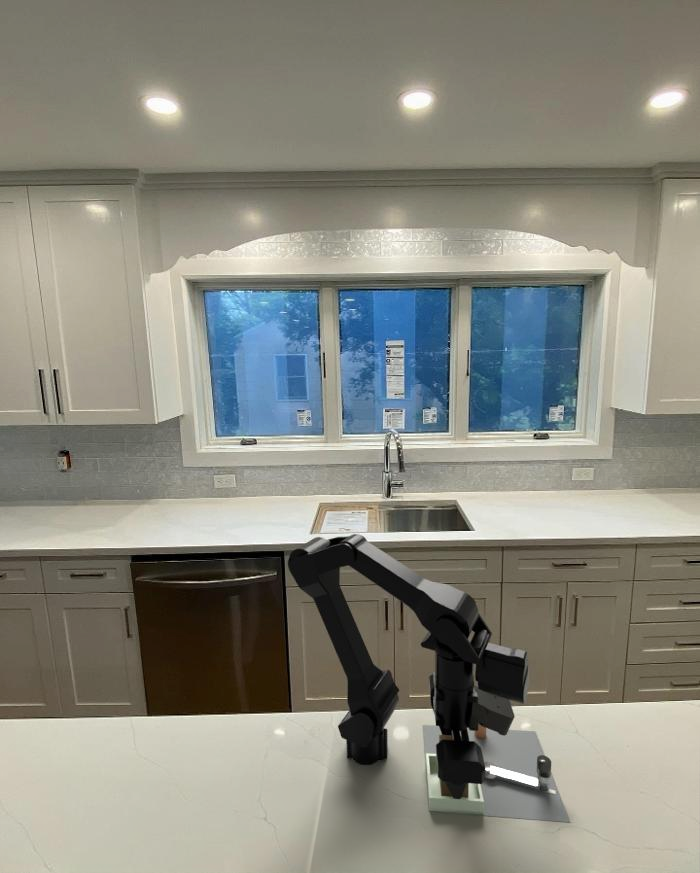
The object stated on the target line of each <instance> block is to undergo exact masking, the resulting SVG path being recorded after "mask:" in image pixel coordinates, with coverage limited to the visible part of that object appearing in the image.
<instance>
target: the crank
mask: <svg viewBox="0 0 700 873" xmlns="http://www.w3.org/2000/svg"><path fill="white" fill-rule="evenodd" d="M484 763H485V768H486V773H485V779H487V780H495V779H497V778H498V779H501V780H505V781H508V782H512V783H515V784H519V785H522V786H526V787H529V788H533V789H536V790H540V791H549V789H550V776H551V773H552V760H551V759H550V758H549V757H548V756H547V755H545V756H544V755H540V756H538V757H537V778H533V777H529V776H526V775H522V774H519V773H515V772H511V771H508V770H504V769H501V768H497V767H496V766H495V765H494V764H493V763H491V762H484Z"/></svg>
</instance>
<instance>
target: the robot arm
mask: <svg viewBox="0 0 700 873" xmlns="http://www.w3.org/2000/svg"><path fill="white" fill-rule="evenodd" d="M346 566H349V567H350V568H351V569H353V570H355V572H357V573H359V574H360V575H361V576H363V577H364V578H365V579H368V580H369V581H370V582H372V583H373V584H375V585H376V586H377V587H379V588H380V589H382V590H383V591H385V592H386V593H388V594H389V595H391V596H392V597H393V598H395V599H397V600H398V601H399V602H401V603H402V604H404V605H405V606H406V607H408V608H409V609H410V610H411V611H413V613H414V614H415V616H416V617H417V620H418V621H419V623H420V624H421V626H422V627H423V628H424V629H425V630H426V631H427V633H426V634H425V635H424V637H423V639H422V641H421V642H420V646H421V647H422V648H424V649H427V650H430V651H433V652H434V671H433V673H432V674H431V675H429V676H428V692H429V698H430V706H431V709H432V712H433V714H434V722H435V726H439V728H440V731H441V733H442V735H452V738H453V740H444V739H442V740H441V741H440V742H439V743H438V744H436V762H437V772H438V778H439V779H441V780H442V781H444V782H445V784H446V785H447V787H448V789H449V791H450V793H451V795H452V797H453V798H454V799H461V797H462V795H463V793H464V790H465V788H466V785H467V783H473V784H482V783H483V782H484V781H485V773H486V768H485V763H484V759H483V754H482V750H481V747H480V746H479V745H478V744H477V743H476V742H475V741H469V736H468V731H467V728H469V730H471V731H478V724H480V725H481V726H483V727H485V728H487V729H490V730H493V731H496V732H498V733H499V734H500V735H503V736H505V735H507V732H508V730H510V728H511V726H512V723H513V721H514V719H515V717H516V716H515V713H514V709H513V707H512V703H511V702H510V701H513V702H516V703H519V704H522V705H526V702H527V698H528V692H529V684H530V674H531V673H530V672H531V669H530V668H531V666H530V665H529V659H528V652H527V651H526V650H523V649H519V648H511V647H507V646H503V645H499V644H495V643H491V638H492V636H493V632H492V631H491V629H490V627H489V626H488V625H487V623H486V622H485V621H484V618H483V617H482V615H481V614H480V613H479V608H478V606H477V603H476V602H477V601H476V600H475V599H474V598H473V597H472V596H471V595H470V594H468V593H467V592H466V591H465V592H464V591H463V590H460V589H458V588H456V587H453V586H452V585H449V584H447V583H441V582H437V581H436V582H435V581H431V580H430V579H427V578H425V577H423V576H421V575H420V574H419V573H417V572H415V571H414V570H412V569H410V567H408V566H406V565H405V564H403V563H401V562H400V561H399V560H397V559H395V558H394V557H392V556H390V555H389V554H387V553H386V552H385V551H384V550H382V549H380V548H378V547H377V546H375V545H373V544H372V543H371V542H369V541H368V539H367V538H366V537H365V536H363V535H362V534H360V533H358V534H357V533H353V534H351V535H348V536H335V537H332V538H328V539H326V538H324V537H321V536H317V537H313V538H311V540H309V541H307V542H305V543H304V544H302V545H300V546H299V547H296V549H294V550H292V551H291V552H290V554H289V557H288V560H287V567H288V571H289V572H290V575H291V576H292V577H293V579H294V581H295V582H296V585H297V586H298V588H299V589H300V590H302V591H303V592H304V593H305V594H307V595H308V596H309V597H311V598H312V599H313V602H314V603H315V605H316V606H315V607H316V609H317V611H318V613H319V615H320V617H321V620H322V622H323V625H324V627H325V630H326V632H327V634H328V636H329V639H330V641H331V643H332V645H333V649H334V651H335V653H336V655H337V657H338V658H337V659H338V660H339V662H340V665H341V668H342V670H343V672H344V674H345V677H346V680H347V684H346V687H347V690H346V694H347V695H346V697H347V698H346V701H347V705H348V709H349V710H348V712H346V715H344V717H343V718H342V719H341V721H340V723H339V724H338V725H337V728H338V731H339V734H340V738H342V739H343V740H346V743H345V744H346V758H347V759H351V760H352V761H353V762H355V763H356V764H357V765H361V766H371V765H374V764H376V763H378V762H379V761H384V760H387V759H388V752H389V751H388V748H389V747H388V746H389V743H388V742H389V741H388V729H387V728H385V727H386V725H387V723H388V722H389V721H390V719H391V717H392V715H393V713H394V712H395V711H396V709H397V707H398V704H399V702H400V698H399V692H400V688H399V687H398V686H397V685H396V682H395V681H394V678H393V674H392V672H391V670H390V669H385V670H382V669H381V668H379V667H378V666H377V665H376V664H374V662H373V660H372V658H371V656H370V653H369V651H368V649H367V646H366V643H365V641H364V639H363V637H362V633H361V632H360V630H359V627H358V625H357V623H356V620H355V617H354V616H353V613H352V612H351V608H350V607H349V606H350V605H349V604H348V603H347V602H348V601H347V600H346V597H345V595H344V593H343V592H344V591H342V588H341V584H340V582H341V581H340V579H341V578H340V577H341V576H340V575H341V574H340V573H341V570H340V569H341V568H343V567H346ZM472 632H473V634H472ZM471 634H472V637H471V639H470V640H469V637H470V635H471ZM474 679H475V680H474ZM475 682H477V685H475ZM460 731H461V735H460ZM461 737H462V741H461Z"/></svg>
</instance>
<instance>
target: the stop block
mask: <svg viewBox="0 0 700 873" xmlns="http://www.w3.org/2000/svg"><path fill="white" fill-rule="evenodd" d="M442 739H444V740H453V738H452V735H439V742H440V741H441V740H442ZM461 741H462V737H461ZM440 788H441V796H448V797H452V795H451V793H450V791H449V789H448V787H447V785H446V784H445V782H444V781H442V780H441V779H440ZM468 793H469V783H467V785H466V788H465V790H464V793H463V795H462V798H468Z"/></svg>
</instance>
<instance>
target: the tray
mask: <svg viewBox="0 0 700 873" xmlns="http://www.w3.org/2000/svg"><path fill="white" fill-rule="evenodd" d="M426 771H427V780H426V785H427V784H428V794H427V799H428V798H429V808H428V812H429V811H440V812H439V813H441V812H453V813H452V814H454V813H466V814H479V815H484V800H483V795H482V790H481V785H480V784H473V783H469V793H468V798H462V797H461V799H454V798H453V797H448V796H441V788H440V779H439V778H438V772H437V762H436V754H429V753H426V766H425V772H426ZM466 814H465V815H466ZM479 815H478V816H479Z"/></svg>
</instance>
